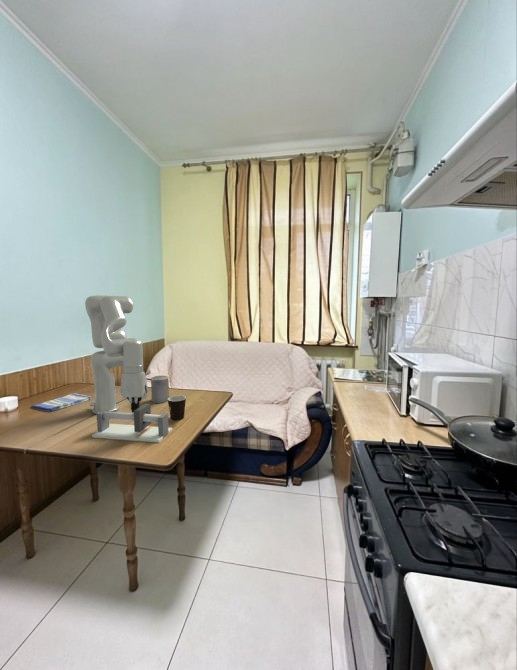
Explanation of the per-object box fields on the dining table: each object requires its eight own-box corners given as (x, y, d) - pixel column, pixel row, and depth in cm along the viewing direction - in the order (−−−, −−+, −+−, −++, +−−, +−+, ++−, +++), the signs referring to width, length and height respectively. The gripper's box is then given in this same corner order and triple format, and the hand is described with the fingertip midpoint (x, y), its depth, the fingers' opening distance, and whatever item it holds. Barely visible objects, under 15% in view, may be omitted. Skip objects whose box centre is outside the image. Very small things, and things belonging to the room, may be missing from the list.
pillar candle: (160, 396, 177) (159, 372, 175) (172, 399, 173) (171, 374, 171) (148, 401, 168) (146, 376, 167) (160, 404, 164) (159, 378, 162)
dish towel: (92, 400, 172) (92, 395, 172) (50, 413, 151) (50, 408, 150) (73, 396, 179) (72, 391, 179) (30, 408, 158) (29, 403, 157)
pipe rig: (92, 437, 123) (90, 416, 122) (110, 425, 135) (109, 406, 134) (159, 442, 119) (158, 420, 118) (171, 429, 131) (171, 410, 130)
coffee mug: (170, 415, 148) (169, 395, 147) (187, 414, 149) (187, 395, 148) (165, 424, 137) (164, 403, 136) (183, 423, 137) (183, 403, 136)
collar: (134, 431, 122) (133, 410, 121) (145, 423, 130) (145, 403, 129) (140, 432, 121) (139, 411, 120) (151, 423, 130) (150, 403, 129)
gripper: (111, 370, 121) (114, 413, 123) (145, 372, 119) (147, 415, 121) (122, 367, 128) (124, 407, 130) (154, 368, 126) (156, 409, 128)
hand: (135, 411), depth 125 cm, fingers closed
